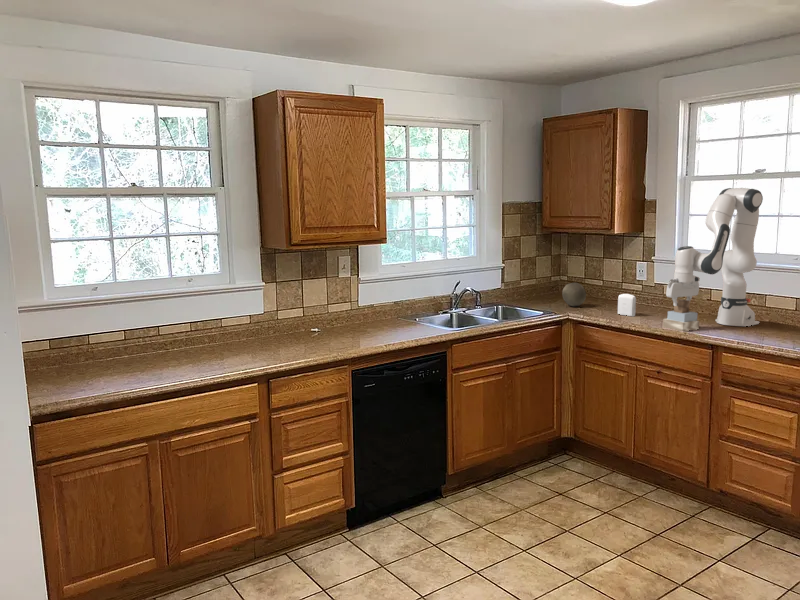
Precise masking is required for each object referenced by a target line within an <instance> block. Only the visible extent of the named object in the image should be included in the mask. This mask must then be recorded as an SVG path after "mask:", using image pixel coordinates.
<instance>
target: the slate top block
mask: <svg viewBox="0 0 800 600" xmlns="http://www.w3.org/2000/svg"><path fill="white" fill-rule="evenodd" d="M666 319H669V320H675V321H680V322H690V321H697V320H698V312H696V311H690V310H689V312H687V313H679V312H674V310H668V311H667V317H666Z"/></svg>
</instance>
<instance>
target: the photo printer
mask: <svg viewBox="0 0 800 600" xmlns="http://www.w3.org/2000/svg"><path fill="white" fill-rule="evenodd" d="M636 306H637V299H636V296H635V295H633V294H630V293H622V294H619V295H618V298H617V315H618V314H620V315H619V316H626V315H627V317H635V316H636Z"/></svg>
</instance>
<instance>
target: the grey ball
mask: <svg viewBox="0 0 800 600" xmlns="http://www.w3.org/2000/svg"><path fill="white" fill-rule="evenodd" d="M561 291H562V293H561V295H562V300H563V301H564V302H565V303H566V304H567V305H568V306H570V307H575V308H577V307H579V306H581V305H582V304H583V303H585V301H586V299H587V298H586V297H587V293H586V290H585V287H584V286H583V285H582V284H581V283H579V282H571V283H567V284H565V286H564V287H563V288H562V290H561Z"/></svg>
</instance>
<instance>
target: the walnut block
mask: <svg viewBox="0 0 800 600" xmlns="http://www.w3.org/2000/svg"><path fill="white" fill-rule="evenodd" d="M676 300H677V302H678V306H674V305H673V311H674V312H679V313H687V312H689V311H690V304H689V302H690V303H691V300H690V301H688V300H687V299H676Z"/></svg>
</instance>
